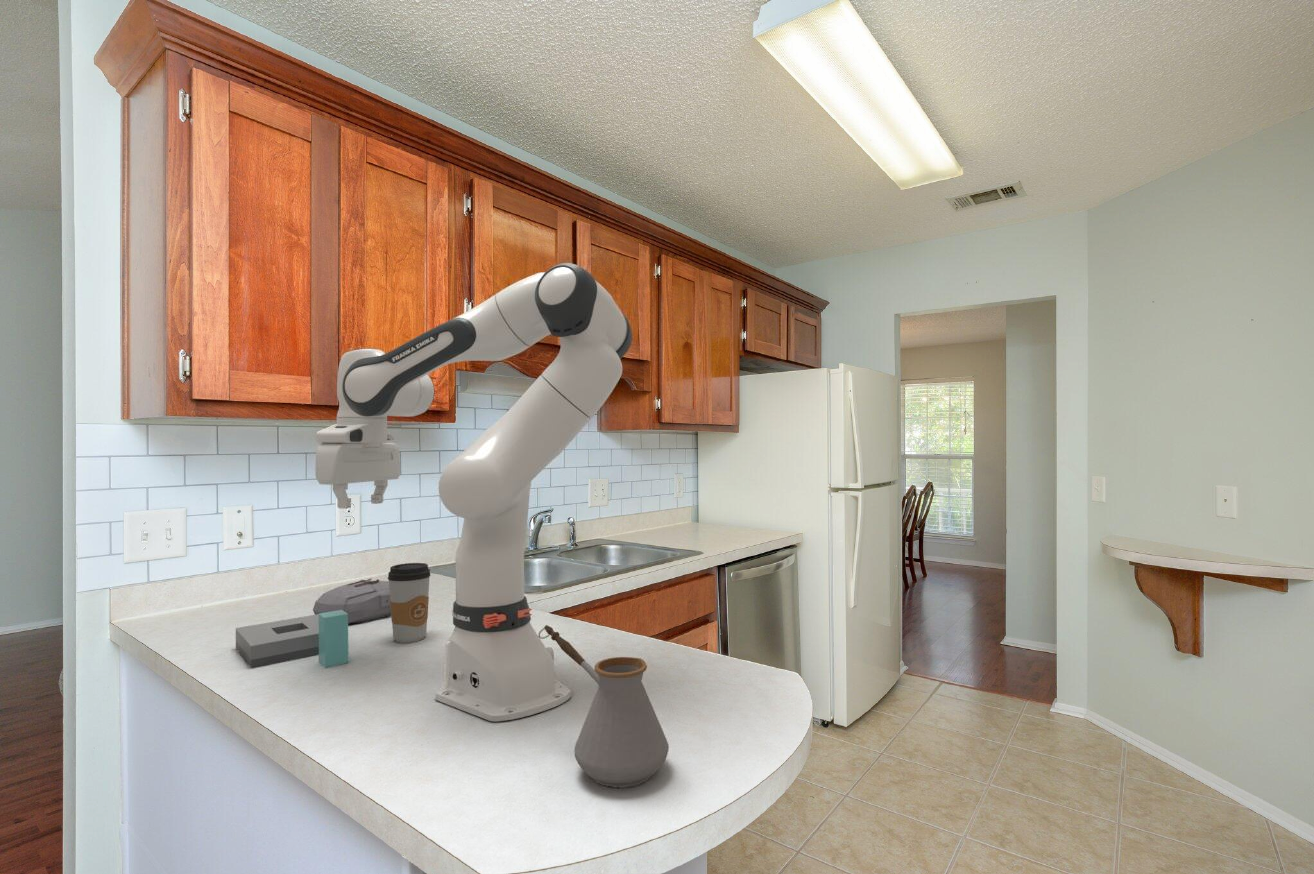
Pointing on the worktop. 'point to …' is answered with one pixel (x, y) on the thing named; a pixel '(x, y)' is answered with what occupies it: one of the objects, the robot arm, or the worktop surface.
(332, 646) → the plug
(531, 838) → the worktop surface
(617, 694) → the coffee pot
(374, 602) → the small grey backpack
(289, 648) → the socket
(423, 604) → the coffee cup
